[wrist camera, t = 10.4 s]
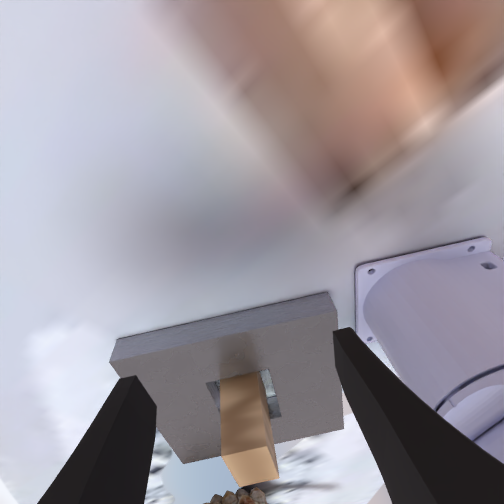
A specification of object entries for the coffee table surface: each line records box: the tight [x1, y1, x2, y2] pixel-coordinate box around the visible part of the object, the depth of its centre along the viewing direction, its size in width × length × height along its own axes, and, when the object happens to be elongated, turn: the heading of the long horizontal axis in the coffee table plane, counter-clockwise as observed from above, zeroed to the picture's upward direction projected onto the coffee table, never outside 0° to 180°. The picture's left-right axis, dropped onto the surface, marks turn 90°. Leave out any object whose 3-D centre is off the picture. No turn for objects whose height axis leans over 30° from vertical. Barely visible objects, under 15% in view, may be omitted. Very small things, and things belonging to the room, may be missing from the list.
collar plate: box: [109, 292, 344, 464], centre depth 26 cm, size 16×16×2 cm
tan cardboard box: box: [220, 371, 279, 487], centre depth 23 cm, size 3×5×7 cm, turn 12°
